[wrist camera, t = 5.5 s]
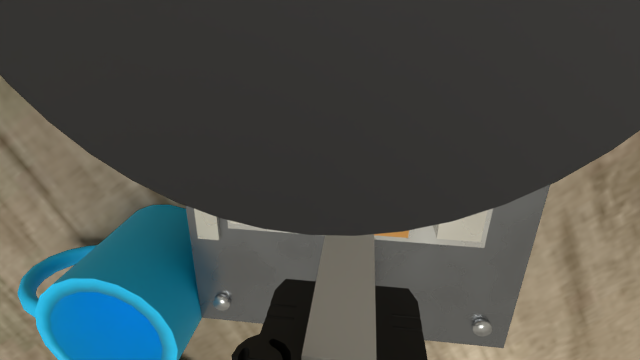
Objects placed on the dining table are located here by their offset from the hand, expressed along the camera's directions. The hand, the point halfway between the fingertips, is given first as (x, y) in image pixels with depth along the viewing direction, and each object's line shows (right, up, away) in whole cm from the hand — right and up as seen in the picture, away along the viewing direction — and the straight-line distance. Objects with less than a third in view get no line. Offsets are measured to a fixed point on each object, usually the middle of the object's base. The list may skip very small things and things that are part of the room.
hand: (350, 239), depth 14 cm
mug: (-14, -3, +15) cm, 21 cm away
